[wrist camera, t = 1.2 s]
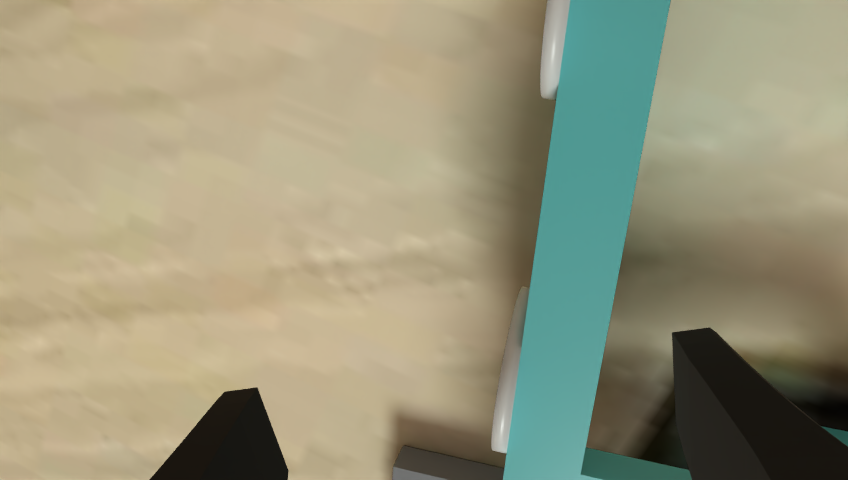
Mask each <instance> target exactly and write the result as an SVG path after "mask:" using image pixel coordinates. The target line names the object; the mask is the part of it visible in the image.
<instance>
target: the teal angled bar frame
mask: <svg viewBox="0 0 848 480" xmlns="http://www.w3.org/2000/svg"><path fill="white" fill-rule="evenodd" d="M670 1H671V0H548V1H547V8H546V16H545V24H544V34H543V44H542V55H541V71H540V90H541V97H542V98H545V99H553V100H556V106H555V113H554V120H553V127H552V134H551V141H550V148H549V155H548V162H547V170H546V177H545V184H544V191H543V198H542V205H541V212H540V219H539V226H538V234H537V241H536V248H535V255H534V262H533V269H532V276H531V283H530V288H528V287H521V289H520V292H519V294H518V297H517V300H516V304H515V307H514V311H513V315H512V319H511V323H510V328H509V332H508V337H507V341H506V346H505V351H504V356H503V362H502V367H501V372H500V378H499V384H498V390H497V396H496V403H495V410H494V418H493V427H492V438H491V448H492V450H493V451H497V452H501V453H506V461H505V468H504V475H503V480H692V478H691V475H690V472H689V470H686V469H682V468H677V467H673V466H668V465H663V464H659V463H654V462H650V461H645V460H641V459H636V458H632V457H627V456H622V455H618V454H613V453H609V452H604V451H600V450H595V449H591V448H586V443H587V438H588V432H589V427H590V422H591V417H592V411H593V406H594V401H595V396H596V390H597V385H598V380H599V375H600V369H601V364H602V359H603V353H604V348H605V343H606V338H607V332H608V327H609V322H610V317H611V311H612V306H613V301H614V296H615V290H616V285H617V280H618V275H619V269H620V264H621V259H622V253H623V248H624V243H625V238H626V232H627V227H628V222H629V217H630V211H631V206H632V201H633V196H634V190H635V185H636V180H637V175H638V169H639V164H640V159H641V153H642V148H643V143H644V138H645V132H646V127H647V122H648V117H649V111H650V106H651V101H652V96H653V90H654V85H655V80H656V75H657V69H658V64H659V59H660V53H661V48H662V43H663V38H664V32H665V27H666V22H667V17H668V11H669V6H670ZM821 427H822V426H821ZM823 428H824V429H825V430H827V431H828V432H829V433H831V434H832V435H833V436H835V437H836V438H837V439H839V440H840V441H841V442H842V443H844V444H845V445H847V446H848V432H847V431H842V430H837V429H832V428H827V427H823Z"/></svg>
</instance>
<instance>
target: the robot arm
mask: <svg viewBox="0 0 848 480" xmlns="http://www.w3.org/2000/svg"><path fill="white" fill-rule="evenodd" d="M672 342H673V366H674V390H675V414H676V426H677V430H678V434H679V437H680V441H681V444H682V448H683V451H684V455H685V458H686V462H687V465H688V468H689V472H690V475H691V478H692V480H848V446H847V445H845V444H844V443H842V442H841V441H840V440H839V439H837V438H836V437H835V436H833V435H832V434H831V433H829V432H828V431H827V430H825V429H824V428H823V427H821V426H820V425H819V424H818V423H816V422H815V421H814V420H813V419H811V418H810V417H809V416H808V415H806V414H805V413H804V412H803V411H801V410H800V409H799V408H798V407H797V406H796V405H794V404H793V403H792V402H791V401H790V400H788V399H787V398H786V397H785V396H784V395H783V394H781V393H780V392H779V391H778V390H777V389H776V388H774V387H773V386H772V385H771V384H770V383H769V382H768V381H767V380H765V379H764V378H763V377H762V376H761V375H760V374H759V373H758V372H757V371H756V370H755V369H753V368H752V367H751V366H750V365H749V364H748V363H747V362H746V361H745V360H744V359H743V358H742V357H741V356H740V355H739V354H738V353H737V352H736V351H735V350H734V349H732V348H731V347H730V346H729V345H728V344H727V343H726V342H725V341H724V340H723V339H722V338H721V337H720V336H719V335H718V334H717V333H716V332H715V331H714V330H712V329H711V328H702V329H695V330H687V331H680V332H672ZM150 480H288V469H287V466H286V463H285V460H284V458H283V455H282V452H281V450H280V447H279V444H278V442H277V439H276V436H275V434H274V431H273V428H272V426H271V423H270V420H269V418H268V415H267V412H266V410H265V407H264V404H263V402H262V399H261V396H260V394H259V391H258V388H250V389H242V390H235V391H227V392H224V393H223V394H222V395H221V396H220V397H219V399H218V400H217V401H216V402H215V403H214V404H213V405H212V407H211V408H210V409H209V410H208V411H207V413H206V414H205V415H204V416H203V417H202V419H201V420H200V421H199V422H198V423H197V425H196V426H195V427H194V428H193V429H192V431H191V432H190V433H189V434H188V435H187V437H186V438H185V439H184V440H183V441H182V443H181V444H180V445H179V446H178V447H177V448H176V450H175V451H174V452H173V453H172V454H171V455H170V457H169V458H168V459H167V460H166V461H165V462H164V464H163V465H162V466H161V467H160V468H159V469H158V471H157V472H156V473H155V474H154V475H153V476H152V478H151V479H150Z"/></svg>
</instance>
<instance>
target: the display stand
mask: <svg viewBox="0 0 848 480" xmlns="http://www.w3.org/2000/svg"><path fill="white" fill-rule="evenodd" d="M503 475H504V469H503V468H499V467H495V466H490V465H486V464H482V463H477V462H473V461H469V460H464V459H460V458H456V457H451V456H447V455H443V454H438V453H434V452H429V451H425V450H421V449H416V448H412V447H408V446H403V447H402V449H401V451H400V453H399V455H398V458H397V460H396V462H395V464H394V466H393V478H392V480H503Z"/></svg>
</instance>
